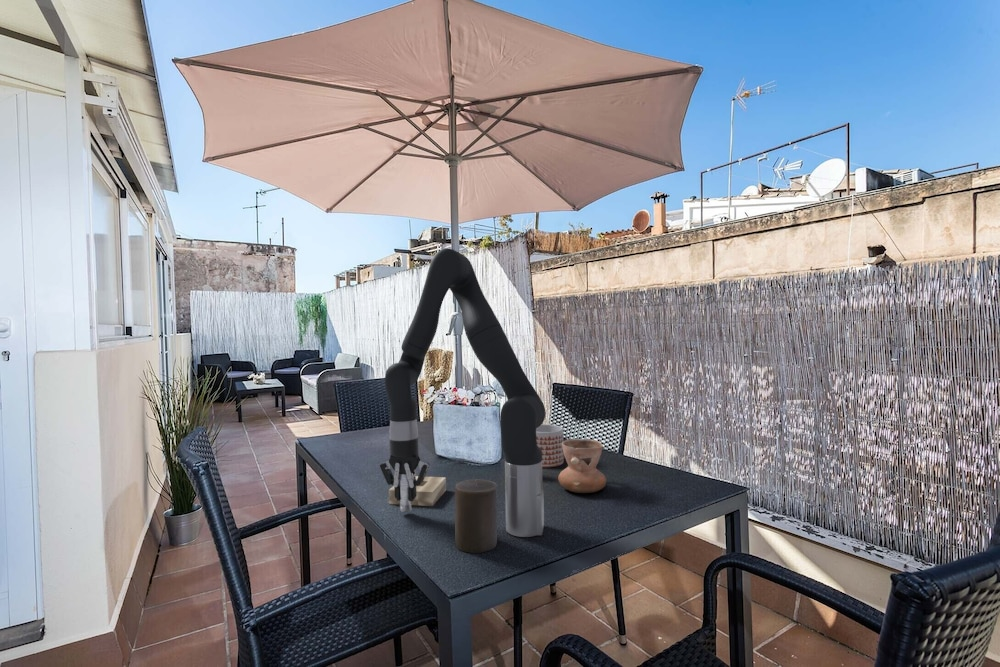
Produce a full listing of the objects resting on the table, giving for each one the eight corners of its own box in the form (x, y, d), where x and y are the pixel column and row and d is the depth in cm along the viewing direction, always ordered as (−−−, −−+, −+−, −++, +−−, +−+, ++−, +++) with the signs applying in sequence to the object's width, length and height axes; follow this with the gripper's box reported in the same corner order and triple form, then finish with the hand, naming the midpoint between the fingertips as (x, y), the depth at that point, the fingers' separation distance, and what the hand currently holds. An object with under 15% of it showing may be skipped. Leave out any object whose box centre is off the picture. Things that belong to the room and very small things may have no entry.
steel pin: (413, 507, 130) (412, 471, 130) (409, 512, 127) (408, 474, 127) (402, 507, 131) (401, 470, 131) (398, 511, 128) (397, 474, 128)
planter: (533, 469, 167) (532, 433, 167) (521, 459, 180) (520, 425, 180) (569, 466, 171) (569, 430, 170) (555, 456, 184) (554, 423, 184)
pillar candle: (469, 557, 105) (469, 489, 104) (447, 541, 112) (447, 478, 112) (505, 545, 110) (505, 481, 110) (482, 531, 118) (481, 470, 118)
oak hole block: (445, 490, 147) (445, 477, 147) (432, 506, 135) (432, 492, 135) (405, 488, 150) (405, 475, 150) (389, 503, 137) (388, 489, 137)
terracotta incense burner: (598, 502, 136) (598, 452, 136) (550, 494, 142) (550, 446, 142) (613, 483, 152) (613, 439, 152) (569, 477, 159) (569, 434, 158)
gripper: (433, 433, 131) (435, 496, 131) (385, 432, 134) (386, 494, 134) (424, 440, 124) (426, 506, 124) (373, 439, 126) (375, 504, 127)
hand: (405, 499), depth 129 cm, fingers closed on steel pin, 3 cm apart
